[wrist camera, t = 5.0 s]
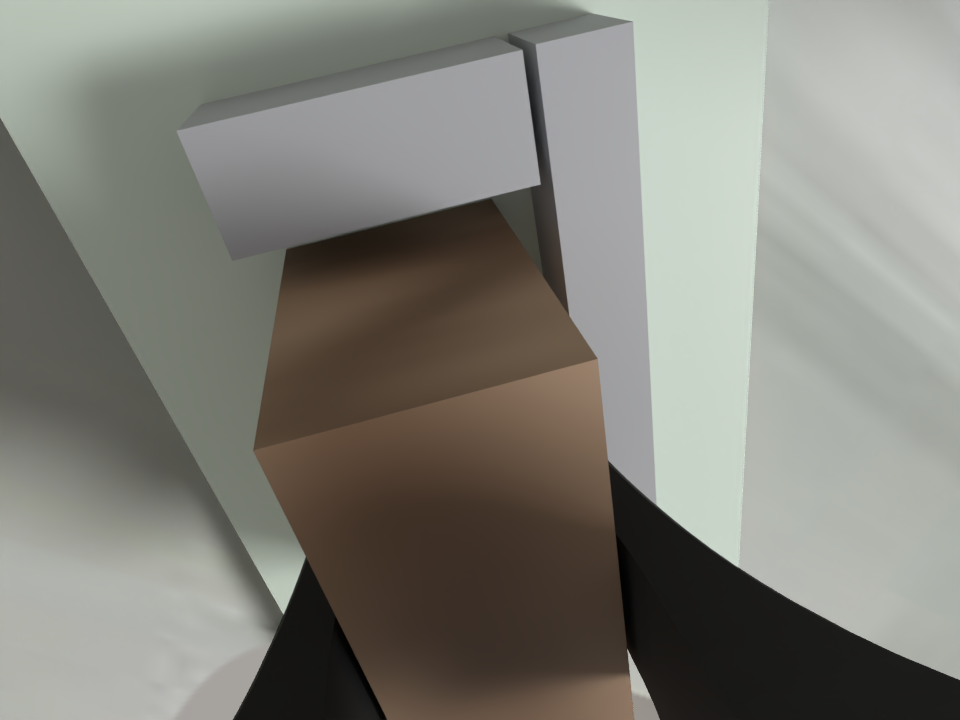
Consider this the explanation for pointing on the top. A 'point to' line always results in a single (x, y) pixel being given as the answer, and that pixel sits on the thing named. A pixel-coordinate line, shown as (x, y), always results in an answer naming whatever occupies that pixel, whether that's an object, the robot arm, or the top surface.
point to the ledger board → (229, 307)
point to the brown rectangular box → (449, 470)
